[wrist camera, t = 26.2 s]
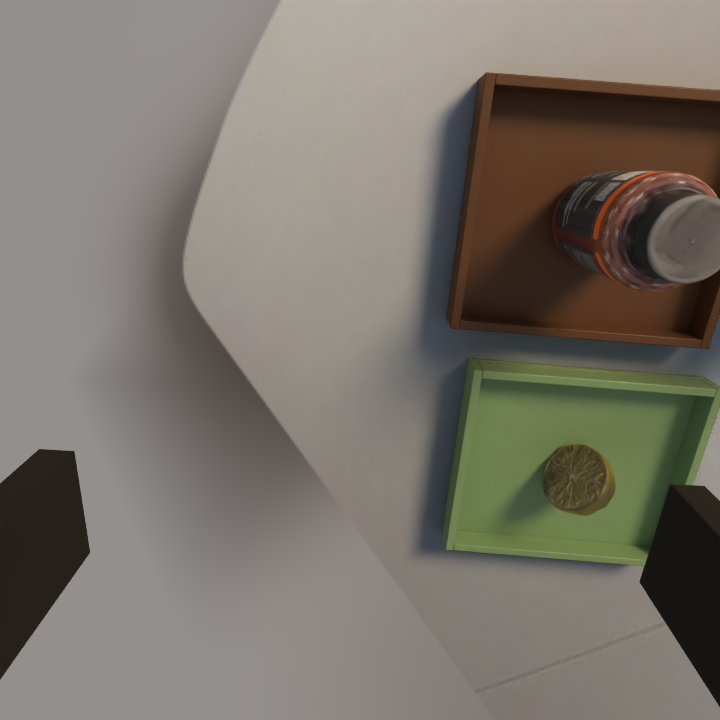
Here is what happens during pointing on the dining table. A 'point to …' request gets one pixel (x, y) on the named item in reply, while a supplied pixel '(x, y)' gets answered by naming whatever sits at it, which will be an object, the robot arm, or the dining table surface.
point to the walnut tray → (545, 187)
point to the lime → (578, 480)
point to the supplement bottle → (640, 227)
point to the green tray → (564, 427)
